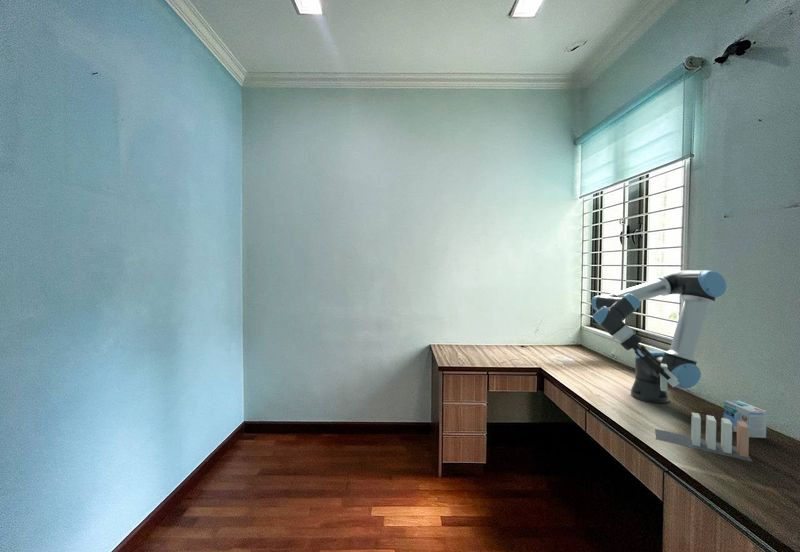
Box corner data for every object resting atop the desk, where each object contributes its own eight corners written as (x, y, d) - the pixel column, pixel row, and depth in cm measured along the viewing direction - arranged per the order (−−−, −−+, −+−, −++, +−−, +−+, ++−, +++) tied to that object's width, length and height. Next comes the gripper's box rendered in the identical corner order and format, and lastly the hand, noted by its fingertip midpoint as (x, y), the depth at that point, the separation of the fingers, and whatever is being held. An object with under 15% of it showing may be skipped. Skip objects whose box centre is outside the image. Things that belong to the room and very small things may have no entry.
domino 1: (660, 387, 142) (660, 363, 141) (666, 388, 140) (666, 364, 140) (661, 390, 137) (661, 366, 137) (667, 391, 136) (667, 366, 136)
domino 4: (720, 445, 120) (721, 417, 120) (728, 447, 119) (729, 419, 119) (723, 451, 116) (724, 422, 116) (731, 453, 115) (732, 424, 115)
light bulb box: (722, 426, 137) (722, 400, 137) (739, 426, 137) (740, 400, 136) (748, 439, 126) (749, 411, 126) (767, 440, 126) (768, 411, 126)
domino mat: (655, 430, 133) (655, 428, 133) (744, 450, 118) (744, 448, 118) (656, 441, 125) (656, 439, 125) (752, 464, 110) (752, 461, 110)
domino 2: (691, 439, 125) (691, 412, 124) (698, 440, 123) (698, 413, 123) (692, 444, 121) (693, 416, 120) (700, 446, 119) (700, 418, 119)
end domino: (736, 449, 118) (737, 420, 118) (744, 451, 117) (745, 422, 116) (739, 455, 114) (740, 426, 113) (748, 457, 112) (749, 427, 112)
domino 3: (705, 442, 122) (706, 414, 122) (713, 444, 121) (713, 416, 121) (707, 448, 118) (708, 419, 118) (715, 450, 117) (716, 421, 117)
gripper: (620, 339, 155) (665, 382, 146) (618, 347, 140) (668, 395, 131) (634, 329, 152) (682, 372, 142) (634, 335, 137) (686, 384, 128)
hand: (675, 383), depth 137 cm, fingers closed on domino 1, 5 cm apart
